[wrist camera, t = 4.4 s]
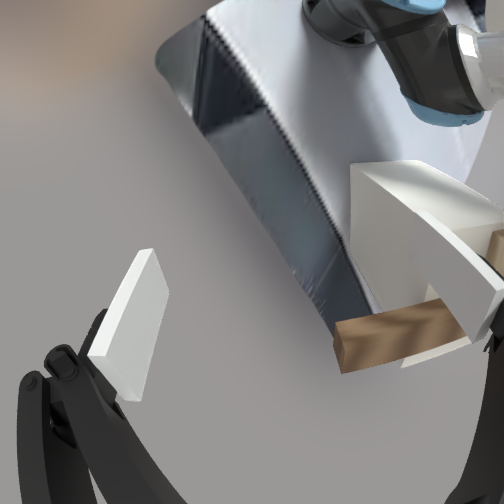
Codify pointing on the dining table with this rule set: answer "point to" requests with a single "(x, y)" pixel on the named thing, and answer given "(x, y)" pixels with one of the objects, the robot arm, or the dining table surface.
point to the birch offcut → (496, 251)
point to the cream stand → (410, 230)
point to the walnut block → (394, 335)
